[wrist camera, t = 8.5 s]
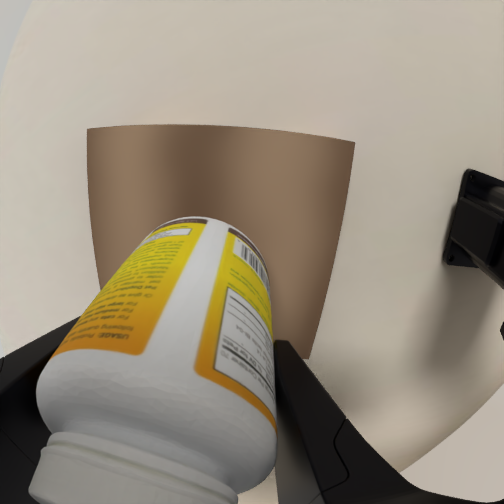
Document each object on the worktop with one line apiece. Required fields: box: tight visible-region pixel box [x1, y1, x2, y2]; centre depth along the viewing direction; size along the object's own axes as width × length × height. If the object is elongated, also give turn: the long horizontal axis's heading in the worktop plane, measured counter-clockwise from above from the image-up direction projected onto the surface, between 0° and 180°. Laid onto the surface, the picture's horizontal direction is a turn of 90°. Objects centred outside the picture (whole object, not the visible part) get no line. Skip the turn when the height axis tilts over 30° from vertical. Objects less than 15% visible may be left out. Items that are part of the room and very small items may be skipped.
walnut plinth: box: [87, 125, 355, 359], centre depth 15 cm, size 12×12×3 cm
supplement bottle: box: [29, 216, 278, 504], centre depth 7 cm, size 6×6×10 cm
